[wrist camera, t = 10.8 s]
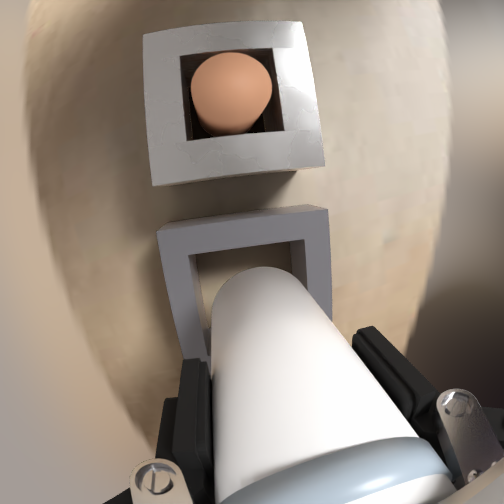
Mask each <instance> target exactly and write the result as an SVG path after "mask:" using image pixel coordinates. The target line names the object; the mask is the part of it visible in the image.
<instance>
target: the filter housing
mask: <svg viewBox="0 0 504 504" xmlns="http://www.w3.org/2000/svg"><path fill="white" fill-rule="evenodd" d="M156 234H157V240H158V245H159V251H160V257H161V262H162V267H163V272H164V277H165V282H166V287H167V292H168V296H169V301H170V305H171V310H172V314H173V318H174V323H175V327H176V331H177V335H178V339H179V343H180V347H181V350H182V354H183V358H184V359H192V358H200V359H201V362H203V361H207V364H208V368H209V372H210V375H211V328H208V324H207V319H206V314H205V308H204V303H203V298H202V292H201V286H200V281H199V275H198V269H197V263H196V257H195V254H199V253H206V252H213V251H220V250H227V249H235V248H242V247H249V246H257V245H264V244H271V243H279V242H286V241H289V242H290V254H291V266H292V275H293V276H295V277H296V278H297V279H298V280H299V281H300V282H301V284H302V285H303V286H304V287H305V289H306V290H307V291H308V292H309V294H310V295H311V296H312V297H313V299H314V300H315V301H316V302H317V304H318V305H319V306H320V308H321V309H322V310H323V311H324V313H325V314H326V315H327V316H328V318H329V319H330V320H331V322H332V277H331V252H330V233H329V218H328V209H325V208H321V207H317V206H312V205H308V204H307V205H298V206H289V207H280V208H271V209H263V210H255V211H247V212H239V213H231V214H224V215H216V216H209V217H202V218H195V219H188V220H181V221H175V222H168V223H166V224H165V225H164V226H162V227H161V228H160V229H159V230H157V231H156Z"/></svg>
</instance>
